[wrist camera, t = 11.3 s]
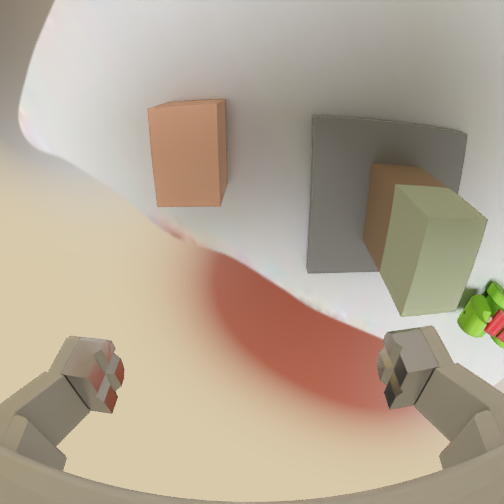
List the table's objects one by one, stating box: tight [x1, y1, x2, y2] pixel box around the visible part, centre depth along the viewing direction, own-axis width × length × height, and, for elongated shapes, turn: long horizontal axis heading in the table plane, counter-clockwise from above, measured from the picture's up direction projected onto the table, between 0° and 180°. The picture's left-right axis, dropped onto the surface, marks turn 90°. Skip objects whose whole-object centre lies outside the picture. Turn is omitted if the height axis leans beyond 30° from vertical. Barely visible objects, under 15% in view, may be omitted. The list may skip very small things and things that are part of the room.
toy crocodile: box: [457, 282, 504, 348], centre depth 30 cm, size 20×7×6 cm, turn 67°
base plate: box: [307, 115, 467, 273], centre depth 23 cm, size 14×14×6 cm
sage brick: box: [380, 184, 488, 317], centre depth 18 cm, size 4×7×5 cm, turn 2°
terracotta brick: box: [148, 99, 227, 207], centre depth 22 cm, size 4×7×5 cm, turn 0°
